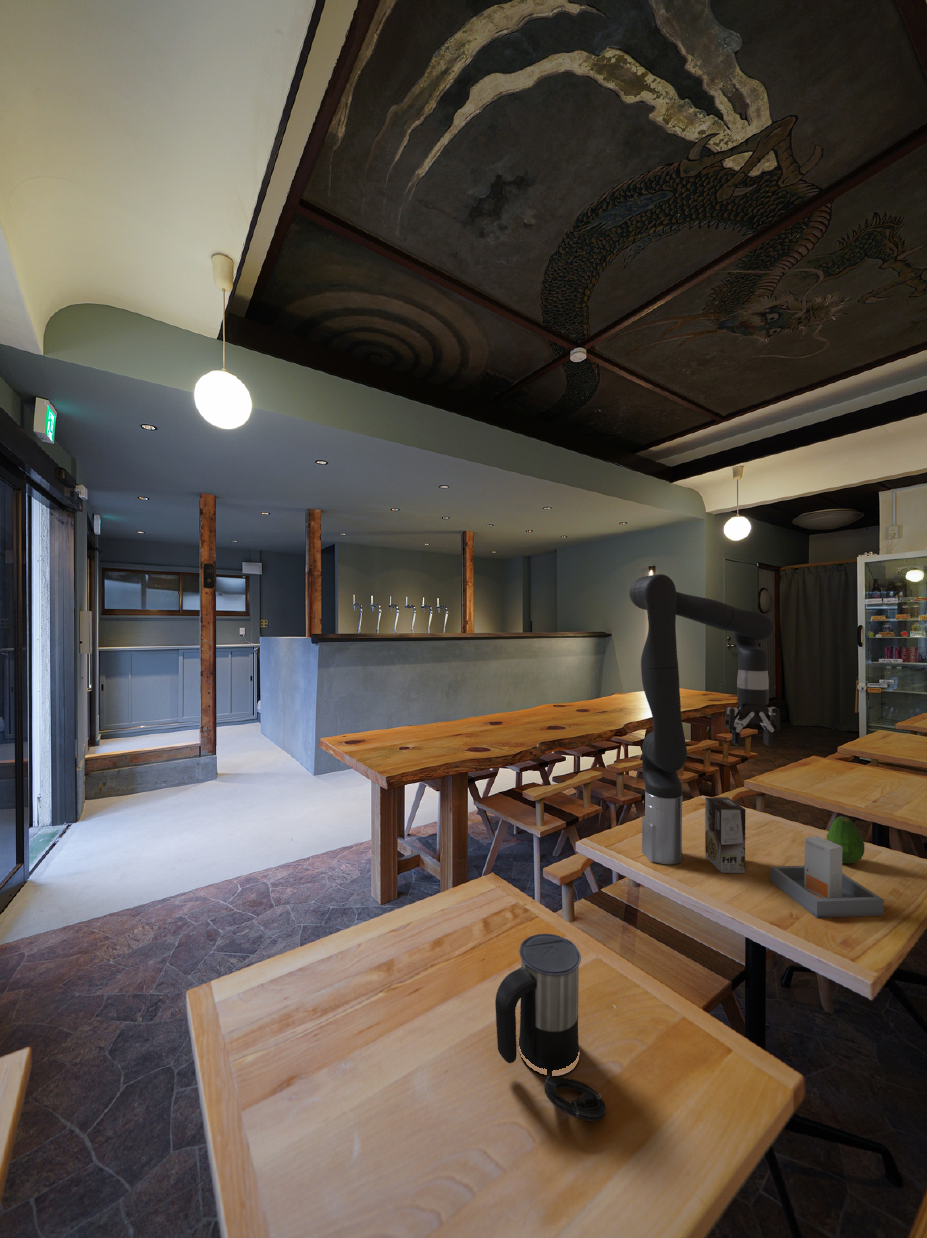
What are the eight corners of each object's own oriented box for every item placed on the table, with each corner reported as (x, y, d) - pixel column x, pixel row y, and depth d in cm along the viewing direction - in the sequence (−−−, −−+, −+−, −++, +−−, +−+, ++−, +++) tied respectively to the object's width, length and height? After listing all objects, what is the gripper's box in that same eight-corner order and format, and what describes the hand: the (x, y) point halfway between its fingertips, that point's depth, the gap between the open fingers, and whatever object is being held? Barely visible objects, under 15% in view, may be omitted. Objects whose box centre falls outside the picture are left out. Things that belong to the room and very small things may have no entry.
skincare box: (803, 888, 119) (803, 837, 118) (816, 885, 120) (816, 835, 120) (830, 902, 113) (830, 849, 113) (843, 899, 114) (843, 846, 114)
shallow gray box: (816, 918, 109) (817, 901, 109) (770, 881, 124) (770, 866, 124) (883, 915, 110) (883, 899, 109) (829, 879, 125) (829, 864, 124)
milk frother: (539, 1015, 82) (539, 925, 82) (634, 1072, 72) (635, 969, 72) (485, 1077, 72) (485, 972, 71) (588, 1154, 61) (589, 1032, 61)
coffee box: (746, 873, 127) (746, 809, 127) (720, 873, 127) (720, 809, 127) (728, 856, 136) (728, 796, 136) (704, 856, 136) (704, 796, 136)
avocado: (821, 861, 133) (822, 815, 133) (832, 852, 138) (832, 808, 138) (859, 873, 127) (859, 826, 127) (868, 864, 132) (869, 818, 132)
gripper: (735, 688, 136) (734, 749, 136) (787, 688, 136) (786, 748, 137) (720, 684, 143) (719, 741, 144) (769, 684, 144) (768, 741, 144)
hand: (752, 745), depth 140 cm, fingers open, 8 cm apart
